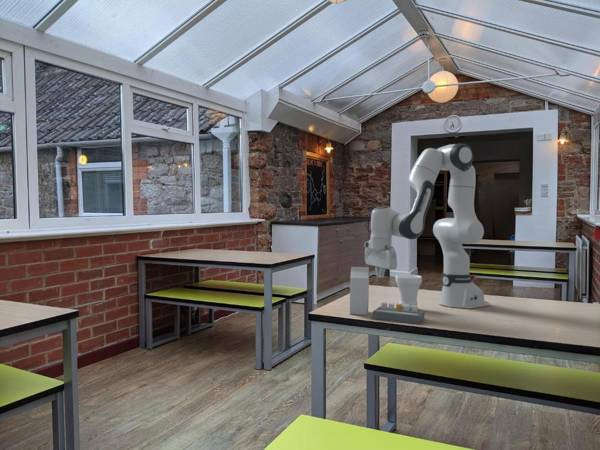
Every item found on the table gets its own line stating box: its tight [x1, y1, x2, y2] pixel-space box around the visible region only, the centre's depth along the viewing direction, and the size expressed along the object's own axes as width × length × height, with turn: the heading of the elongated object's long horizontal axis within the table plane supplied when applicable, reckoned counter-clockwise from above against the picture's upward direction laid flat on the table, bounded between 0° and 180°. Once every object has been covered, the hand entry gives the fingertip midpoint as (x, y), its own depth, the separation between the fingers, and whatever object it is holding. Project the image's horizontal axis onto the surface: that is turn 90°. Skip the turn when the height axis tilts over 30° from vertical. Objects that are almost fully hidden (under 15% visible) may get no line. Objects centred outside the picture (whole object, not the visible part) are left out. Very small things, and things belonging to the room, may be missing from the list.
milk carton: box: [349, 266, 370, 316], centre depth 201 cm, size 7×7×19 cm
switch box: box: [372, 301, 426, 325], centre depth 192 cm, size 18×10×6 cm, turn 64°
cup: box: [395, 273, 423, 310], centre depth 210 cm, size 11×11×14 cm
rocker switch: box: [395, 303, 402, 311], centre depth 192 cm, size 2×1×2 cm, turn 65°
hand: (380, 277), depth 205 cm, fingers closed
